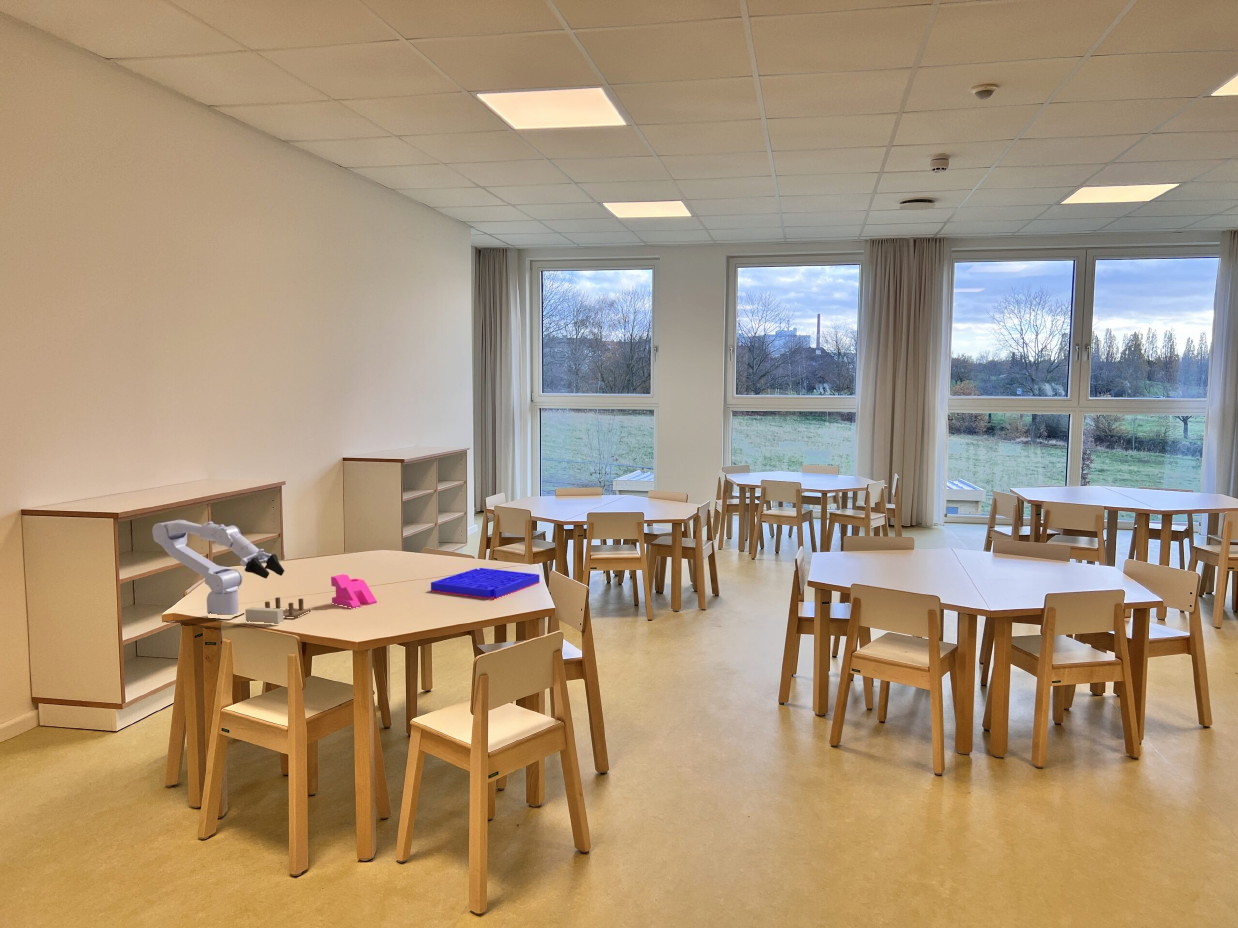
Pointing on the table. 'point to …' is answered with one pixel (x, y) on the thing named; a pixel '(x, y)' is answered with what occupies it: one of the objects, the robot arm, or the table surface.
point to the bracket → (351, 591)
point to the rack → (291, 611)
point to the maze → (485, 583)
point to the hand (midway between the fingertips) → (275, 574)
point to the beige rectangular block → (264, 615)
